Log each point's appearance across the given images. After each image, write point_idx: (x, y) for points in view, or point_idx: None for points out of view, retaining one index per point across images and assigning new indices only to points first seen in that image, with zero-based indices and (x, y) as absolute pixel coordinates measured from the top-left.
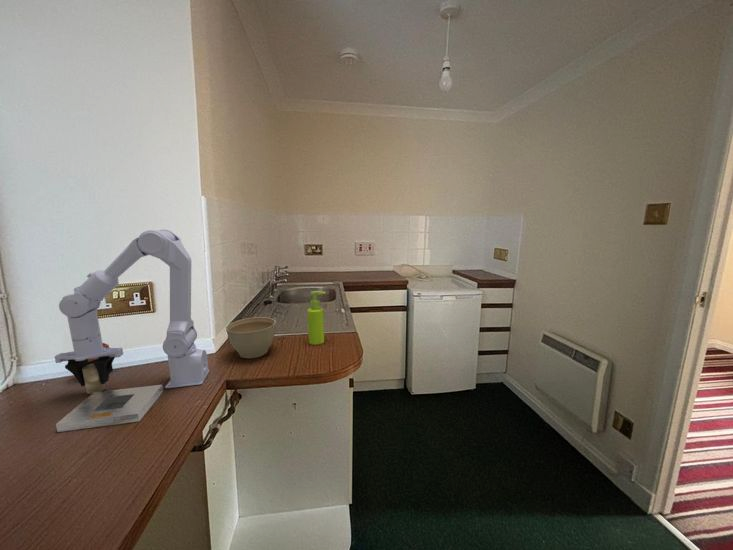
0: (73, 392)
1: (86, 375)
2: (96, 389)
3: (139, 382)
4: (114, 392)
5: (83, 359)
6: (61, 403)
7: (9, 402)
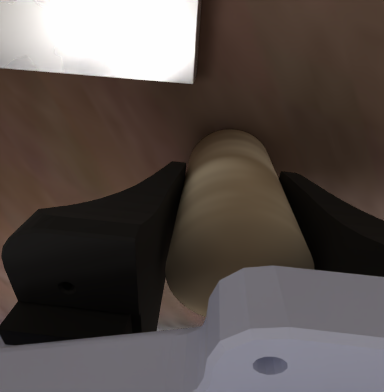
0: (340, 194)
1: (258, 187)
2: (210, 141)
3: (67, 193)
4: (46, 27)
5: (237, 287)
6: (368, 86)
7: None
